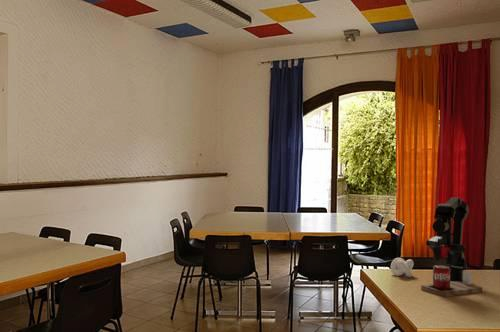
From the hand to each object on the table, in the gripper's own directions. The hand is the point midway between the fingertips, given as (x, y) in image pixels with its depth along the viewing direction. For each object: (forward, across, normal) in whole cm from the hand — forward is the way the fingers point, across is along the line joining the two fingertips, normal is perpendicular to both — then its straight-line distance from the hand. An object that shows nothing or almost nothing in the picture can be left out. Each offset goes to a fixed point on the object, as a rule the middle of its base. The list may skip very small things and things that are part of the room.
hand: (444, 263), depth 208 cm
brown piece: (+12, +5, -1) cm, 13 cm away
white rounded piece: (+12, -28, -2) cm, 30 cm away
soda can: (+12, +6, -8) cm, 16 cm away
